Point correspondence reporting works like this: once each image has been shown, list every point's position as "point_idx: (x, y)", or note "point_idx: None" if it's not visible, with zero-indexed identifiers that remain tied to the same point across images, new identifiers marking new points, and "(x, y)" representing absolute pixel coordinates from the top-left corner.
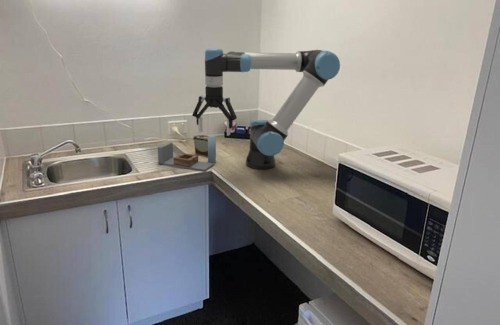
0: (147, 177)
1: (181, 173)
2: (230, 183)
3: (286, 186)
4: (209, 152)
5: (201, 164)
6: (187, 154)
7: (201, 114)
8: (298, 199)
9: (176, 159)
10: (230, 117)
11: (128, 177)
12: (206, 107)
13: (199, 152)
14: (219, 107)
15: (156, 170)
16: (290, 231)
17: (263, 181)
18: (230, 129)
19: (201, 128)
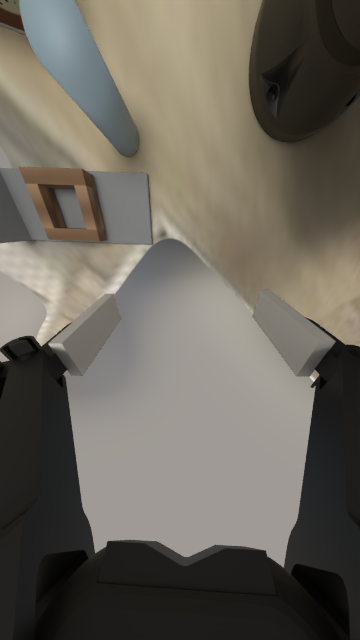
0: (82, 313)
1: (115, 274)
2: (228, 285)
3: (352, 256)
4: (108, 136)
5: (120, 203)
6: (46, 177)
7: (59, 392)
8: (354, 306)
9: (60, 239)
10: (358, 371)
11: (59, 323)
12: (90, 532)
13: (5, 16)
14: (303, 577)
15: (62, 279)
16: (311, 374)
17: (300, 247)
18: (283, 302)
19: (109, 314)
